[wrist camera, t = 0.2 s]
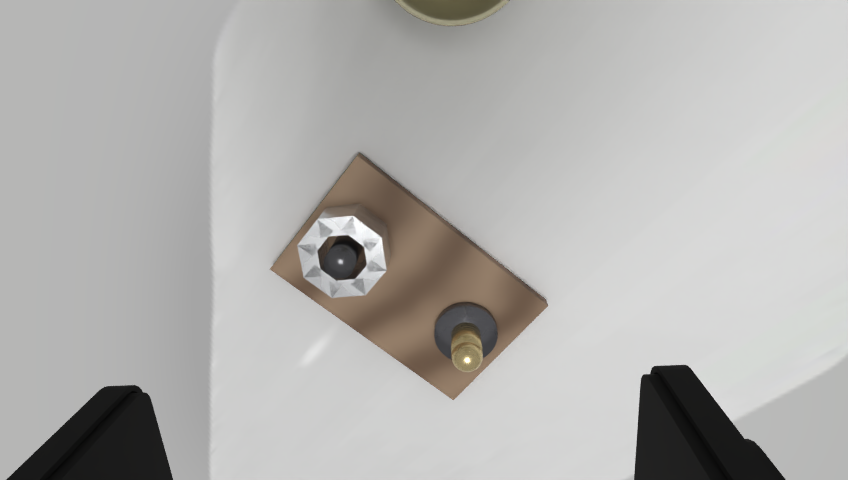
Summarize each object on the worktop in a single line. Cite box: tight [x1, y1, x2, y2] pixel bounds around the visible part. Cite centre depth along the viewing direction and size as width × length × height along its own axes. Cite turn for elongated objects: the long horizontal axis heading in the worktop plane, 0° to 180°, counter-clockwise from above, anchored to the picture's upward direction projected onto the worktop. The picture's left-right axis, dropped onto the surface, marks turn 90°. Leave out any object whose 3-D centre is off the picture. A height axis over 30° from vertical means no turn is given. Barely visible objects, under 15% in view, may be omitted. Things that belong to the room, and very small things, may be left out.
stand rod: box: [324, 235, 363, 278], centre depth 44 cm, size 2×2×5 cm
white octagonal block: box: [297, 204, 391, 298], centre depth 45 cm, size 7×7×4 cm
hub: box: [434, 302, 498, 372], centre depth 46 cm, size 6×6×6 cm
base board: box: [270, 153, 548, 400], centre depth 48 cm, size 21×13×1 cm, turn 51°
